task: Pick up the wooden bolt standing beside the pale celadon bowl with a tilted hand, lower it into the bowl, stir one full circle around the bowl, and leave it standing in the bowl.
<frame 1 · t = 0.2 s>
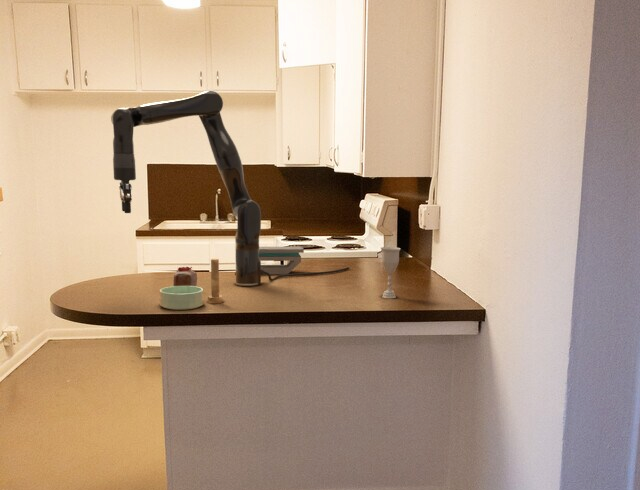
hand: (126, 212, 238), 29 cm above the table, tool pointing down, fingers open, 8 cm apart
bowl: (182, 305, 223), on the table
wooden bolt: (215, 301, 230), on the table
chalice: (388, 297, 243), on the table
food item: (185, 293, 243), on the table
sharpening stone: (273, 273, 288), on the table
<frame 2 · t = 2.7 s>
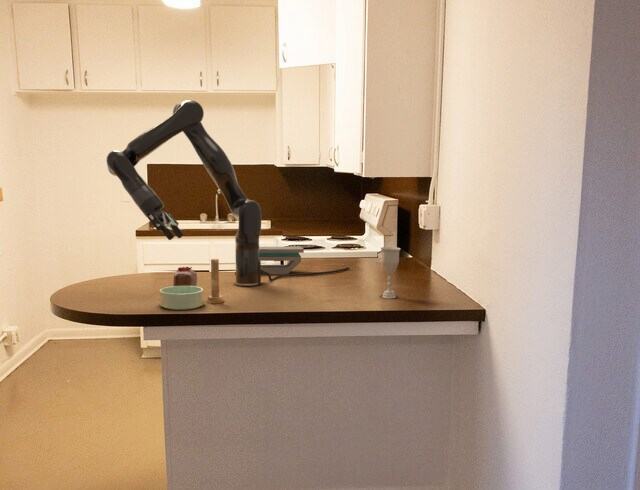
hand: (177, 237, 229), 22 cm above the table, tool tilted 40°, fingers open, 8 cm apart
nothing on the table moved.
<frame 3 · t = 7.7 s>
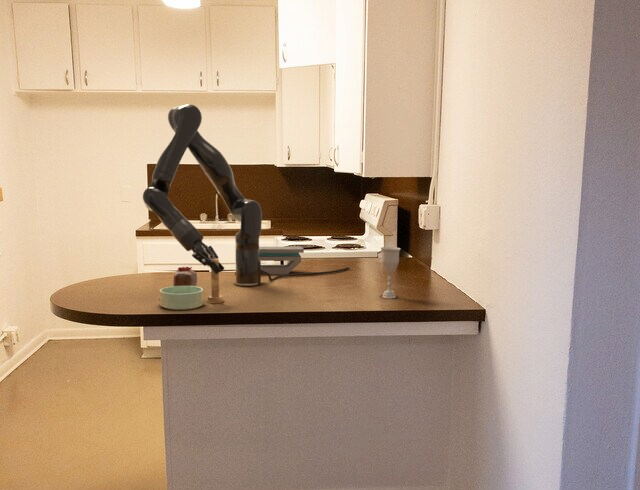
hand: (220, 271, 227), 11 cm above the table, tool tilted 45°, fingers closed on wooden bolt, 2 cm apart
wooden bolt: (215, 301, 230), on the table, touching gripper
everything else where it was.
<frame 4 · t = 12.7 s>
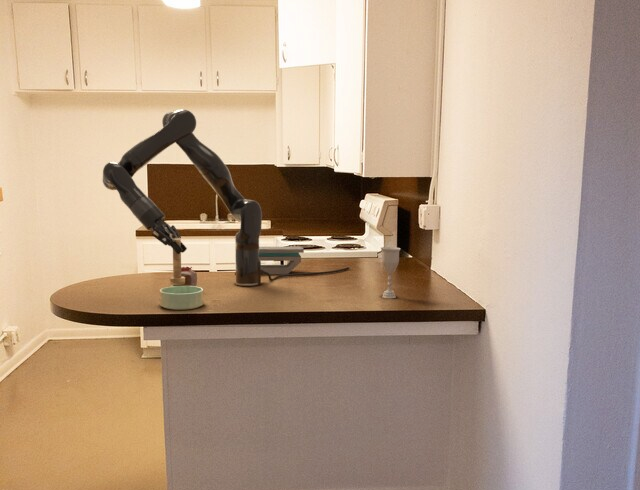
hand: (182, 251, 218), 19 cm above the table, tool tilted 45°, fingers closed on wooden bolt, 2 cm apart
wooden bolt: (177, 283, 221), point 8 cm above the table, touching gripper
everything else where it was.
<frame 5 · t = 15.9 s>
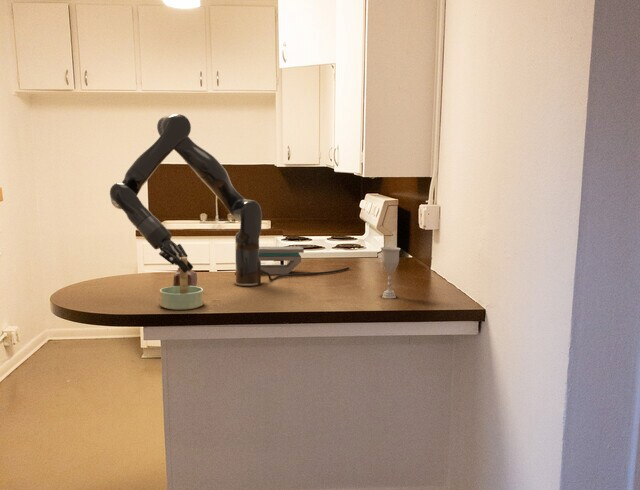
hand: (189, 269, 222), 12 cm above the table, tool tilted 45°, fingers closed on wooden bolt, 2 cm apart
wooden bolt: (184, 301, 224), point 1 cm above the table, touching gripper
everything else where it was.
when the fingers open (12 cm above the table, at t = 18.1 s): wooden bolt stays where it is, resting on bowl.
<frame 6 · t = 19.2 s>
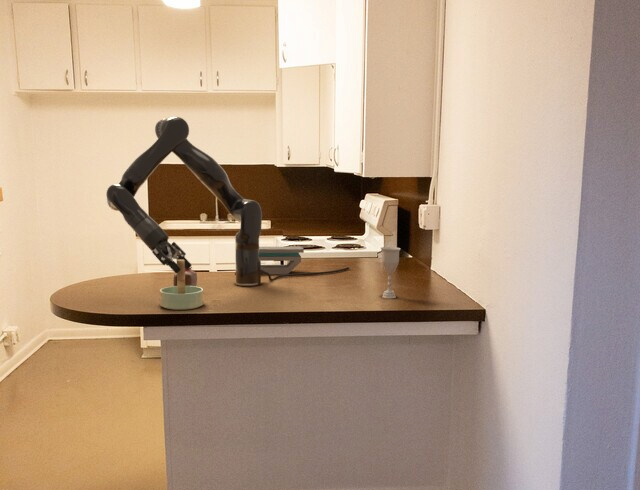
hand: (184, 269, 220), 12 cm above the table, tool tilted 45°, fingers open, 8 cm apart
wooden bolt: (181, 304, 223), point 1 cm above the table, touching bowl
everything else where it was.
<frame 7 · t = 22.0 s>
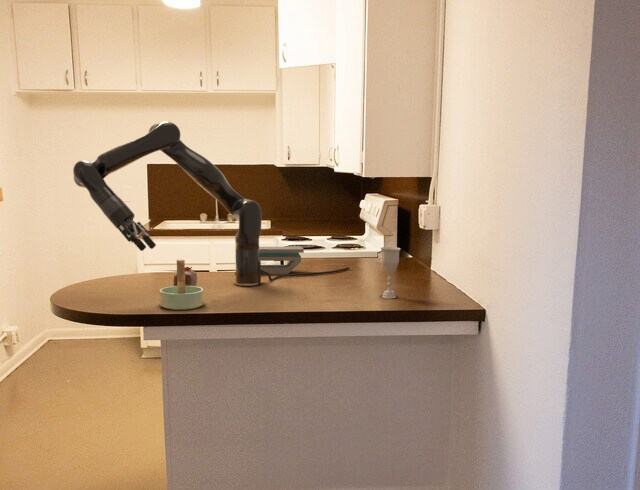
hand: (149, 248, 222), 19 cm above the table, tool tilted 45°, fingers open, 8 cm apart
nothing on the table moved.
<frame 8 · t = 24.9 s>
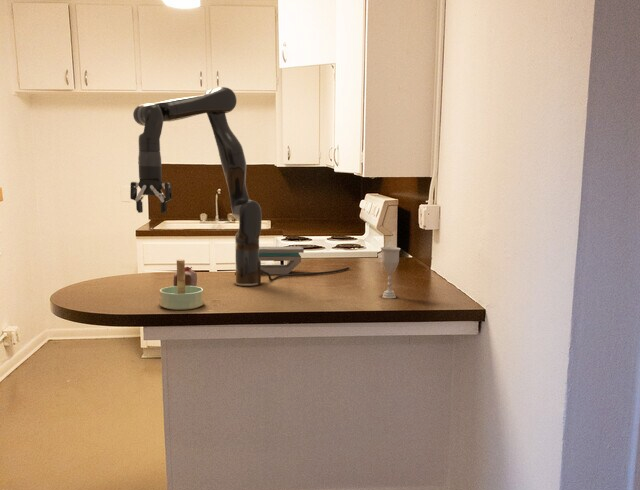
hand: (151, 212, 227), 30 cm above the table, tool pointing down, fingers open, 8 cm apart
nothing on the table moved.
at the end: wooden bolt inside the target area in the bowl (0.1 cm from its centre), point 0.6 cm above the bowl's base; wooden bolt tilted 0°; the gripper is holding nothing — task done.
